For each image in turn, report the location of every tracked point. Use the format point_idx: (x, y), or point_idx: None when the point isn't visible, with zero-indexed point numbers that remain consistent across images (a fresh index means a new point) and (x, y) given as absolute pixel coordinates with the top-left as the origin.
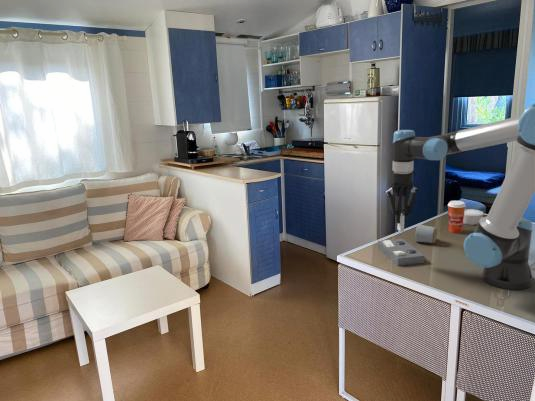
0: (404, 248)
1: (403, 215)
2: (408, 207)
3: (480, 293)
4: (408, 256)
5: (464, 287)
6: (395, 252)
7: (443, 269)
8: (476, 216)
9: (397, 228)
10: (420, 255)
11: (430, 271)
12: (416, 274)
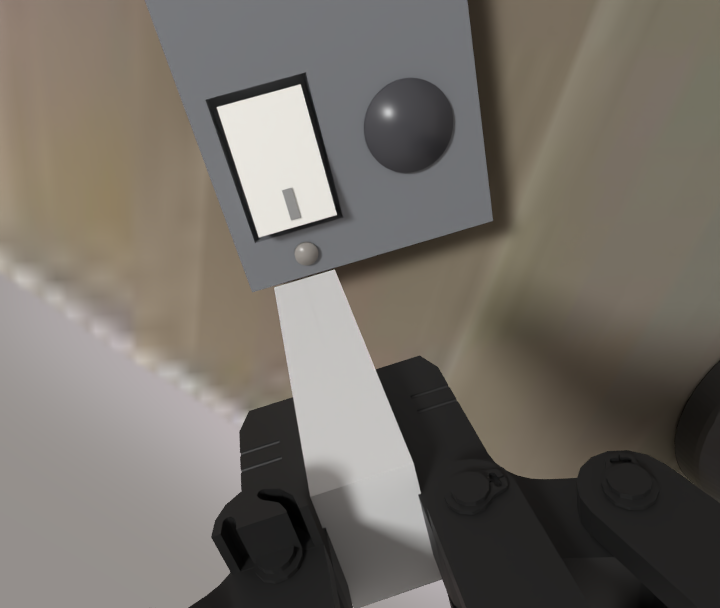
0: (360, 24)
1: (423, 569)
2: (706, 587)
3: None
4: (354, 242)
5: None
6: (242, 182)
7: (548, 307)
8: None
9: (277, 301)
10: (461, 218)
11: (458, 341)
12: None
